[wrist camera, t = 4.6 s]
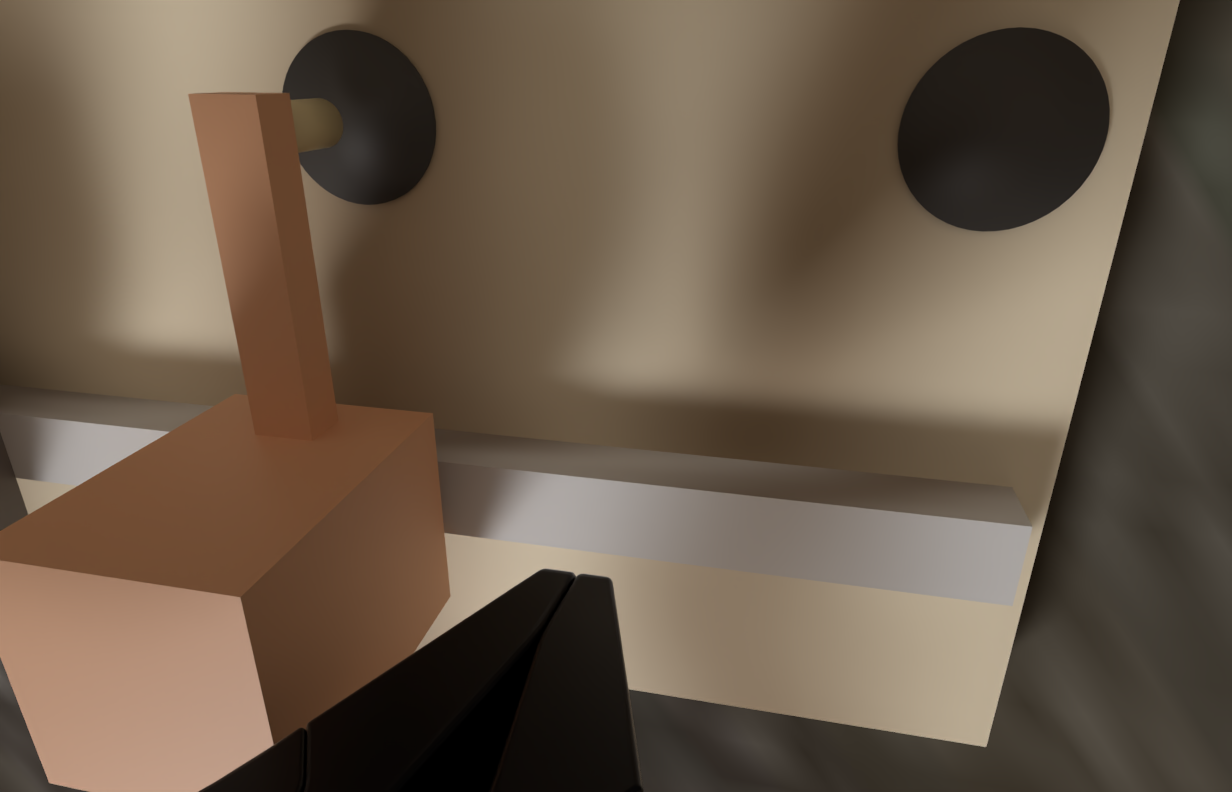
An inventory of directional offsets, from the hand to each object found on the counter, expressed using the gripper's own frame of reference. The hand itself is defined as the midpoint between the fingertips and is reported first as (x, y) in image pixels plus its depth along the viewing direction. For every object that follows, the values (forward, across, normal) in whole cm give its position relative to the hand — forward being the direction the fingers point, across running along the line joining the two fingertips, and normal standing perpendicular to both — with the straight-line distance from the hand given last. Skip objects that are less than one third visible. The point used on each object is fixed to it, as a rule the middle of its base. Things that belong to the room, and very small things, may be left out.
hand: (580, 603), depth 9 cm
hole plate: (+4, +4, -2) cm, 6 cm away
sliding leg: (+2, +4, -2) cm, 5 cm away
